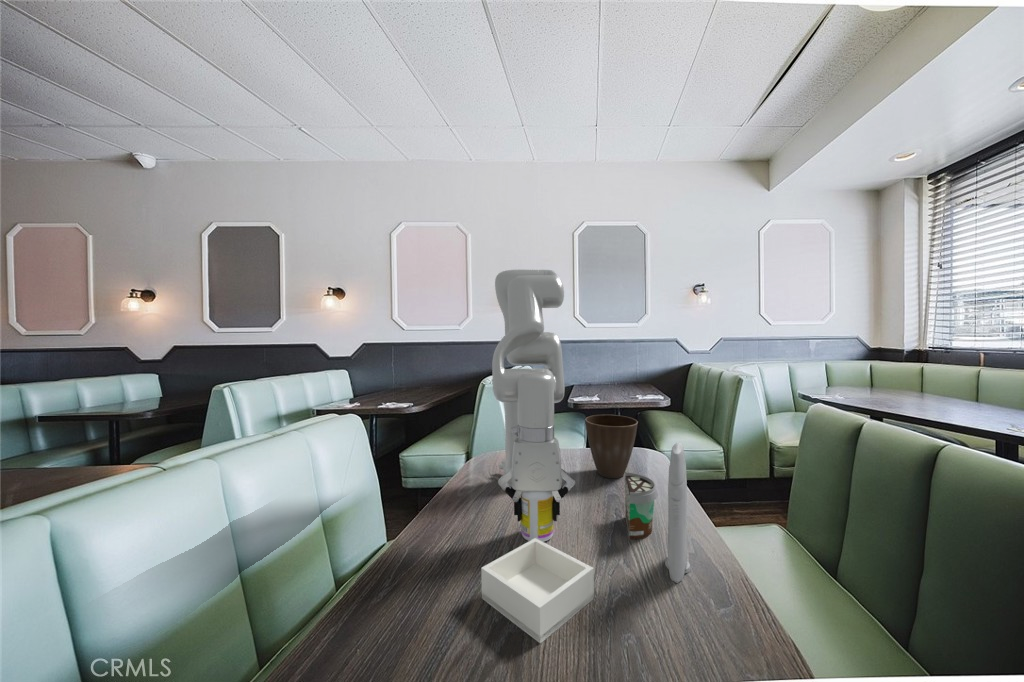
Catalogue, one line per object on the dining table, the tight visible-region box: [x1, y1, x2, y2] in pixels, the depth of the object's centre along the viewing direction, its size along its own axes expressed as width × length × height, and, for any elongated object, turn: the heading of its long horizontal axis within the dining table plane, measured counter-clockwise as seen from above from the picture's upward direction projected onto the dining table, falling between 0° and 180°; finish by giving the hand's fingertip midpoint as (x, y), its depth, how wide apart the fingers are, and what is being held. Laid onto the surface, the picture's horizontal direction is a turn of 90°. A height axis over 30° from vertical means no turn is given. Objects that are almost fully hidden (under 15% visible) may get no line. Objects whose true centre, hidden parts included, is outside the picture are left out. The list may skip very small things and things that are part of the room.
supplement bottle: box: [520, 491, 554, 543], centre depth 81 cm, size 7×7×13 cm
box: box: [480, 538, 595, 644], centre depth 62 cm, size 13×13×5 cm
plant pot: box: [585, 414, 639, 479], centre depth 115 cm, size 15×15×16 cm
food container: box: [624, 471, 659, 540], centre depth 83 cm, size 12×6×10 cm, turn 168°
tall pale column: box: [664, 442, 691, 584], centre depth 70 cm, size 11×4×22 cm, turn 153°
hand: (536, 517), depth 81 cm, fingers closed on supplement bottle, 6 cm apart
